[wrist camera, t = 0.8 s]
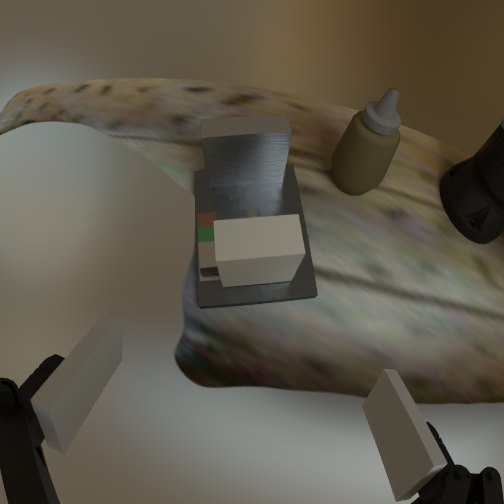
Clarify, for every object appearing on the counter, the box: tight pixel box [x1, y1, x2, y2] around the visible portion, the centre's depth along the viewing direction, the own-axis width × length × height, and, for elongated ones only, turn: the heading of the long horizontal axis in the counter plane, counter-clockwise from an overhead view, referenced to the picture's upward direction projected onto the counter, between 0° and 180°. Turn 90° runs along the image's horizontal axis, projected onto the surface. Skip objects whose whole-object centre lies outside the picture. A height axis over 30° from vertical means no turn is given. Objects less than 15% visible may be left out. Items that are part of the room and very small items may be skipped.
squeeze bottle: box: [331, 88, 401, 195], centre depth 34 cm, size 8×8×18 cm
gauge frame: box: [195, 115, 318, 309], centre depth 34 cm, size 14×19×12 cm
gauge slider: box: [200, 209, 306, 287], centre depth 32 cm, size 10×7×9 cm, turn 96°
